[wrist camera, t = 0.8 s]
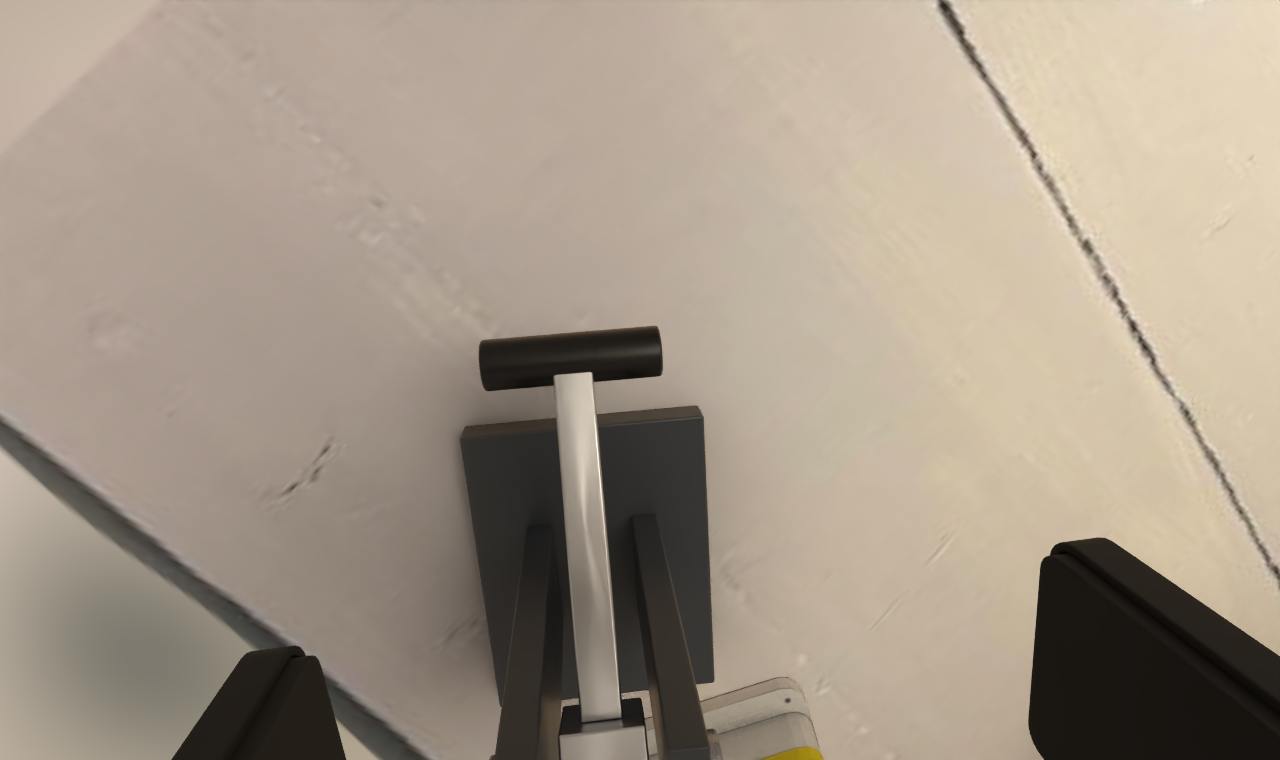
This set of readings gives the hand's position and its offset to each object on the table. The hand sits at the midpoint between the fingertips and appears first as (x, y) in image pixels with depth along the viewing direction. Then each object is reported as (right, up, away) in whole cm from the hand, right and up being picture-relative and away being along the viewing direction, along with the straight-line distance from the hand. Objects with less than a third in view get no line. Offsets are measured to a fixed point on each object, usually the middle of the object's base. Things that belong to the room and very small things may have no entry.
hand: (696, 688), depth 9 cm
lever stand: (-3, -3, +20) cm, 20 cm away
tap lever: (-2, -1, +11) cm, 12 cm away
